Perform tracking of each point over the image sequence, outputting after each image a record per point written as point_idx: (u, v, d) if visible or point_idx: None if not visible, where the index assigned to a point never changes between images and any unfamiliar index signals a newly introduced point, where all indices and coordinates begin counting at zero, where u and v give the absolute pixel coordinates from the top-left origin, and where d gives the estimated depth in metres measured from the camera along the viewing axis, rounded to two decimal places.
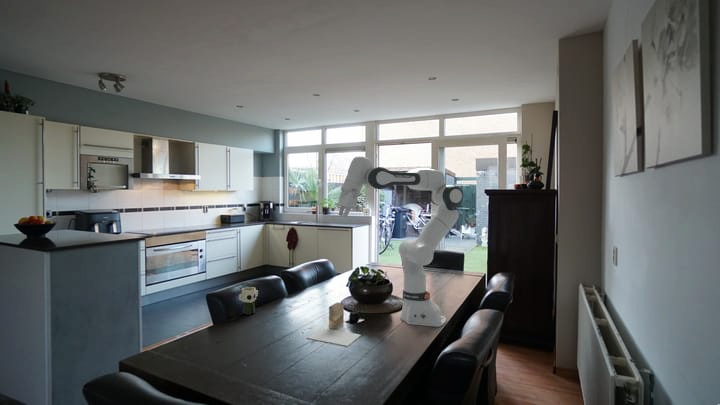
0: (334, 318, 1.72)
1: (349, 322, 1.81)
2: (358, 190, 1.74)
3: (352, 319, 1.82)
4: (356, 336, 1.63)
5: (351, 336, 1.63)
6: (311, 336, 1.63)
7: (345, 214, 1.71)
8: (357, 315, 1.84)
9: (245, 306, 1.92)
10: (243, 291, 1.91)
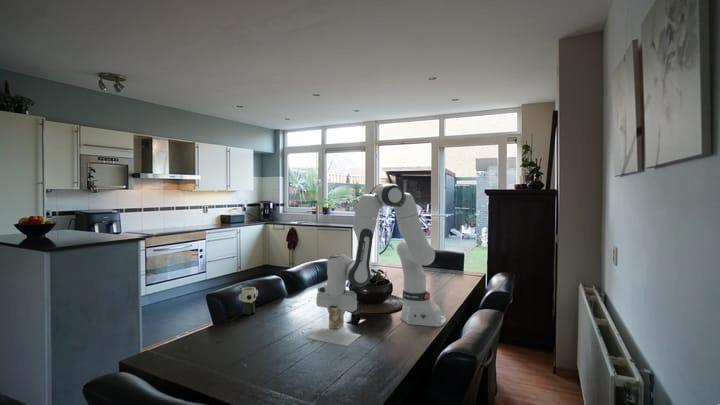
0: (334, 318, 1.72)
1: (351, 323, 1.80)
2: None
3: (354, 319, 1.81)
4: (356, 336, 1.63)
5: (351, 336, 1.63)
6: (311, 336, 1.63)
7: (342, 316, 1.74)
8: (359, 315, 1.84)
9: (245, 306, 1.92)
10: (243, 291, 1.91)
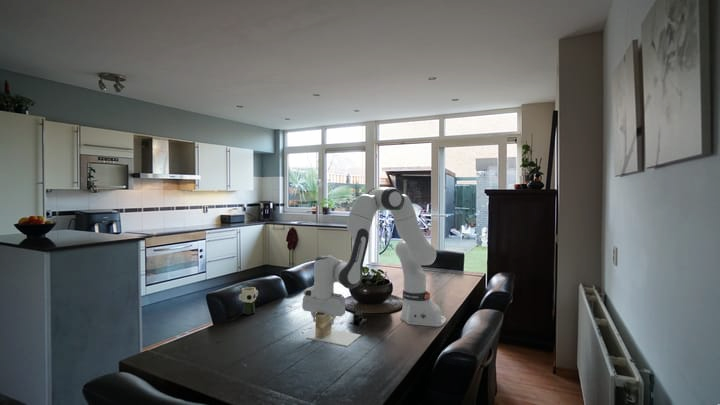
0: (320, 325, 1.61)
1: (355, 323, 1.80)
2: None
3: (357, 320, 1.81)
4: (356, 336, 1.63)
5: (351, 336, 1.63)
6: (311, 336, 1.63)
7: (332, 322, 1.63)
8: (361, 315, 1.83)
9: (245, 306, 1.92)
10: (243, 291, 1.91)
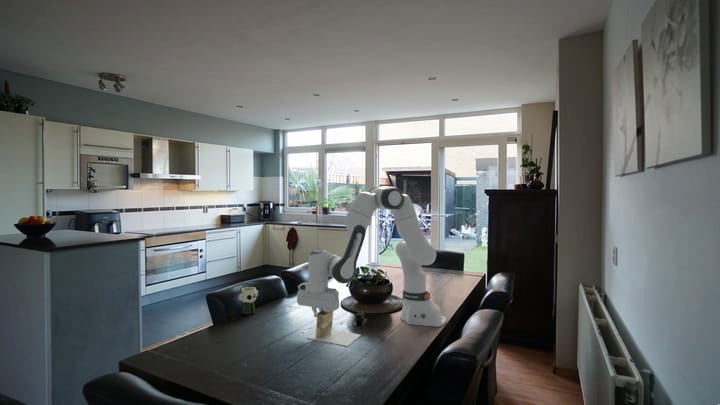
0: (321, 325, 1.61)
1: (358, 324, 1.79)
2: None
3: (360, 320, 1.80)
4: (356, 336, 1.63)
5: (351, 336, 1.63)
6: (311, 336, 1.63)
7: None
8: (363, 316, 1.83)
9: (245, 306, 1.92)
10: (243, 291, 1.91)
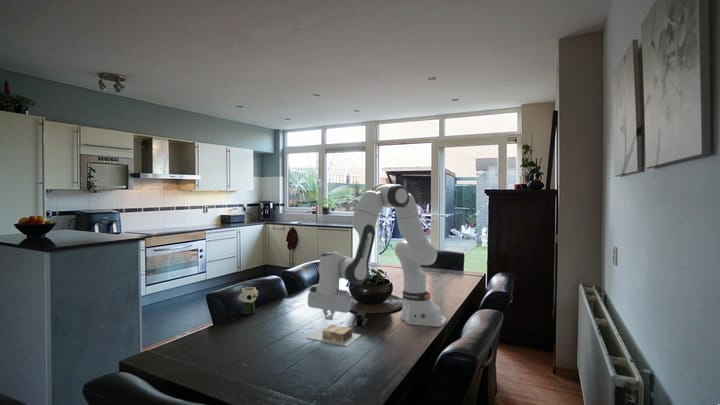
0: (333, 338, 1.58)
1: (358, 324, 1.79)
2: None
3: (360, 320, 1.80)
4: (356, 336, 1.63)
5: None
6: (311, 336, 1.63)
7: (331, 317, 1.63)
8: (363, 316, 1.83)
9: (245, 306, 1.92)
10: (243, 291, 1.91)
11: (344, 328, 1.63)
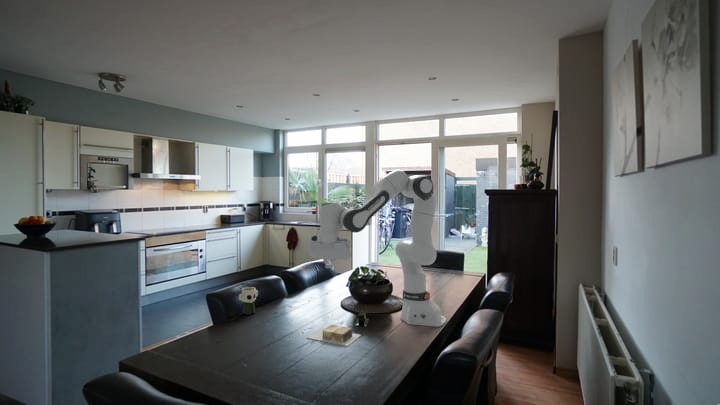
0: (333, 338, 1.58)
1: (361, 324, 1.79)
2: None
3: (362, 320, 1.80)
4: (356, 336, 1.63)
5: None
6: (311, 336, 1.63)
7: (331, 265, 1.68)
8: (364, 316, 1.83)
9: (245, 306, 1.92)
10: (243, 291, 1.91)
11: (344, 328, 1.63)
